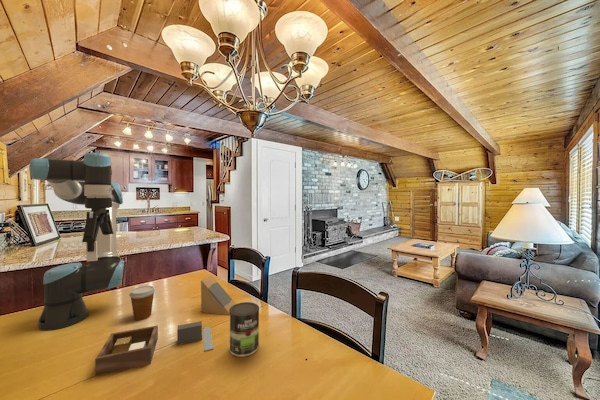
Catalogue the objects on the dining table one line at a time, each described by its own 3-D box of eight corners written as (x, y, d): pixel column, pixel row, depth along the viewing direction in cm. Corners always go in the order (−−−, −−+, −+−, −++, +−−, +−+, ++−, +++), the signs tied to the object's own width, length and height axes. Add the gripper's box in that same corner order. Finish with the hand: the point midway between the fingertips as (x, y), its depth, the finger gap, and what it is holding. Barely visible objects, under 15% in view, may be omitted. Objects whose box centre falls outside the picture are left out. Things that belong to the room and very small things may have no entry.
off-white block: (131, 355, 81) (131, 343, 81) (145, 352, 82) (145, 341, 82) (128, 363, 77) (128, 351, 77) (143, 360, 79) (143, 348, 78)
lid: (168, 337, 94) (168, 319, 93) (210, 329, 100) (210, 312, 99) (164, 362, 80) (164, 341, 80) (213, 351, 86) (213, 331, 86)
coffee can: (263, 351, 85) (263, 311, 85) (232, 360, 80) (232, 318, 80) (254, 335, 94) (254, 299, 94) (226, 343, 89) (226, 305, 89)
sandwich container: (231, 316, 109) (231, 282, 109) (200, 312, 112) (200, 280, 112) (240, 307, 118) (240, 276, 117) (211, 304, 121) (211, 273, 120)
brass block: (118, 350, 84) (117, 338, 83) (131, 347, 85) (131, 336, 85) (114, 357, 80) (113, 345, 80) (128, 354, 81) (128, 342, 81)
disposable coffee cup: (124, 319, 105) (124, 291, 105) (145, 309, 114) (145, 284, 114) (139, 324, 102) (139, 295, 102) (160, 313, 111) (160, 287, 110)
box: (111, 350, 85) (111, 333, 85) (157, 341, 90) (157, 325, 90) (95, 379, 72) (95, 359, 72) (150, 366, 77) (150, 348, 77)
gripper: (98, 197, 78) (99, 264, 78) (121, 196, 101) (122, 247, 101) (67, 198, 75) (69, 266, 76) (98, 196, 98) (99, 249, 99)
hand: (99, 256), depth 88 cm, fingers open, 13 cm apart
